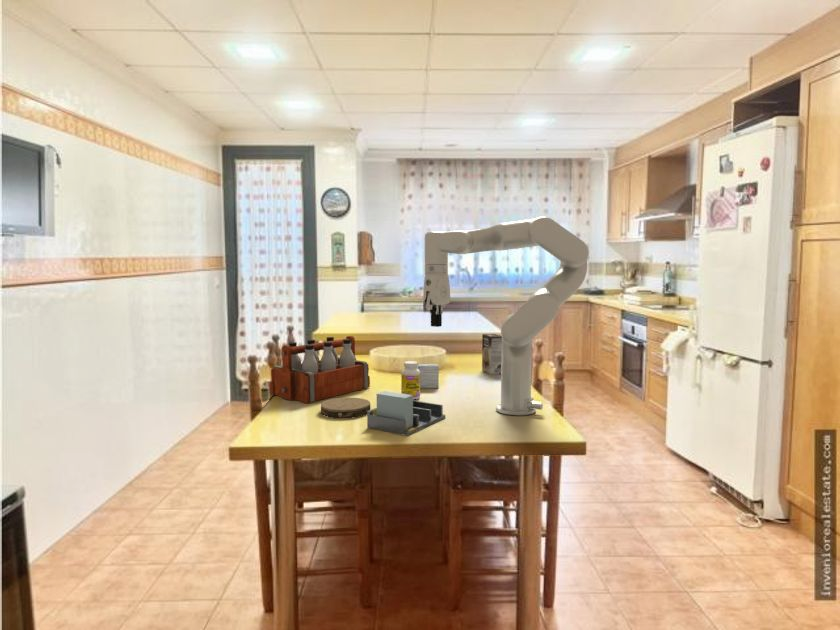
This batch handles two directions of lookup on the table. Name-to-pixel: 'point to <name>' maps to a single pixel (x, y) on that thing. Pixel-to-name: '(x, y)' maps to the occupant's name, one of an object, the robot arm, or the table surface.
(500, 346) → the coffee box
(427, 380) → the medicine box
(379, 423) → the rack
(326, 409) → the round wood slice
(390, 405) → the panel
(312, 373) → the milk bottle holder
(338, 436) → the table surface
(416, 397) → the supplement bottle
